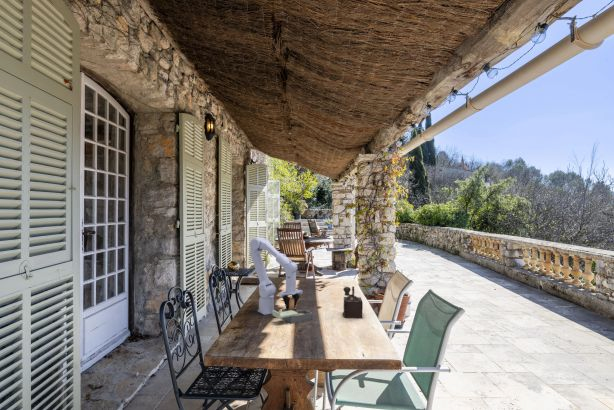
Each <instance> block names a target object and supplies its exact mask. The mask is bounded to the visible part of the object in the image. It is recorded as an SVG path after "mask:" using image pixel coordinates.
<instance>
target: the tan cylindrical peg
mask: <svg viewBox="0 0 614 410" xmlns="http://www.w3.org/2000/svg"><path fill="white" fill-rule="evenodd" d="M290 310H293V311H294V298H292V297H290V300H289V309H287V311H290Z"/></svg>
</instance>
